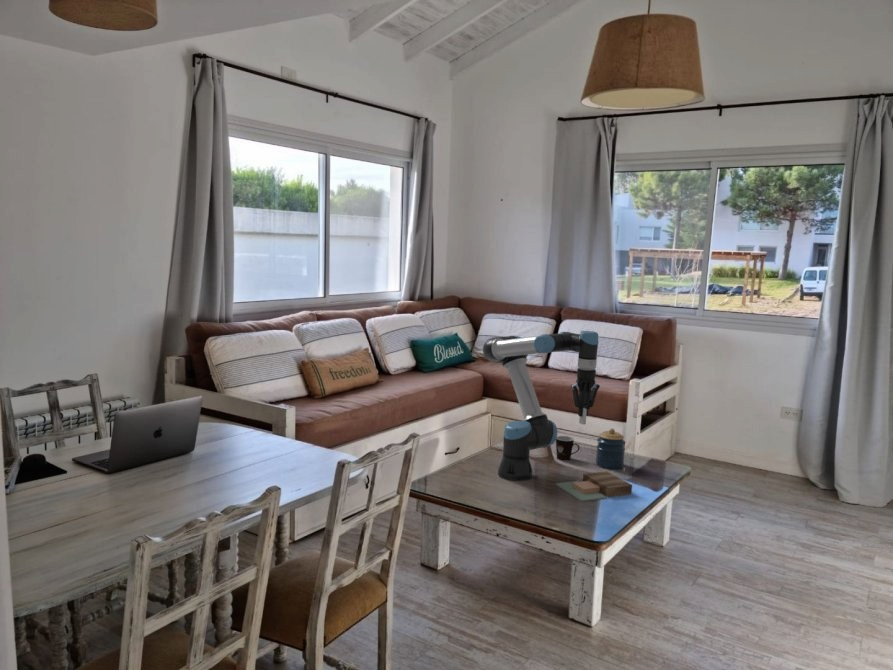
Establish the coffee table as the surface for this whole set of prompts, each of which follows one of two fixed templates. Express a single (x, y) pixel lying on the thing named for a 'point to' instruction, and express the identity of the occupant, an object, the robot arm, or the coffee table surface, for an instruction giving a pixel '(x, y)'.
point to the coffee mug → (565, 447)
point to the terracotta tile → (586, 487)
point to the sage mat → (580, 496)
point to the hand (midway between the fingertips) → (582, 423)
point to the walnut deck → (608, 483)
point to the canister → (610, 450)
